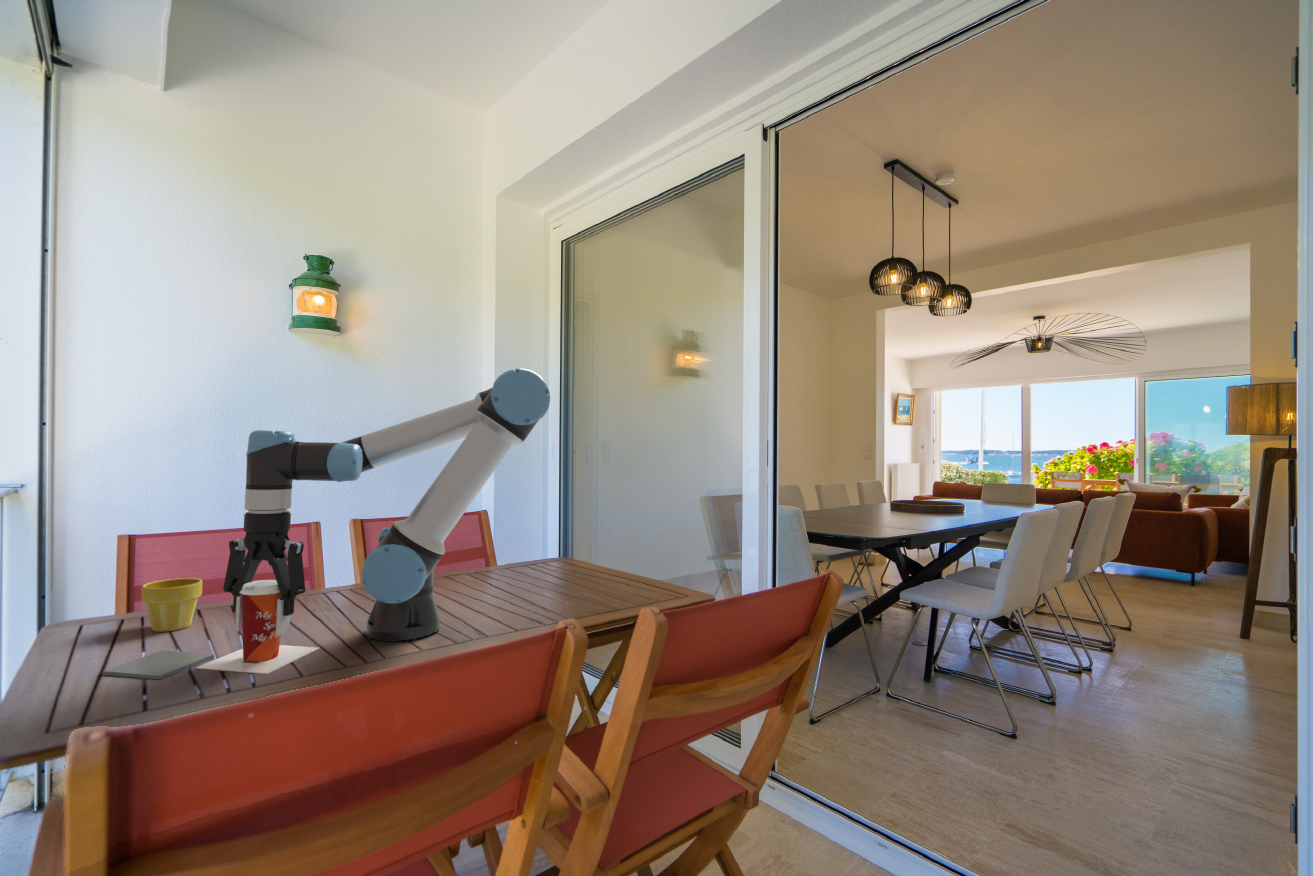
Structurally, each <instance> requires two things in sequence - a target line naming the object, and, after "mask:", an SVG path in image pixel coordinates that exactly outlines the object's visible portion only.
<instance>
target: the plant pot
mask: <svg viewBox="0 0 1313 876" xmlns="http://www.w3.org/2000/svg"><path fill="white" fill-rule="evenodd" d="M202 594H203V580H202V578H196V577H180V578H170V579H169V578H168V579H161V580H156V581H151V582H147V583H145V584H143V585H142V586H141V602H142V603H143V604H145V606H146V610H147V611H146V612H147V614H148V619H149V623H150V627H151V630H152V631H153V632H155V633H156V632H158V633H160V632H161V633H165V632H166V633H167V632H174V631H180V630H183V629H187V628H189V627H190V626H191V625H192V623H193V618H194V615H195V610H196V608H197V603H198V599H199V598H200V597H202Z"/></svg>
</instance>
